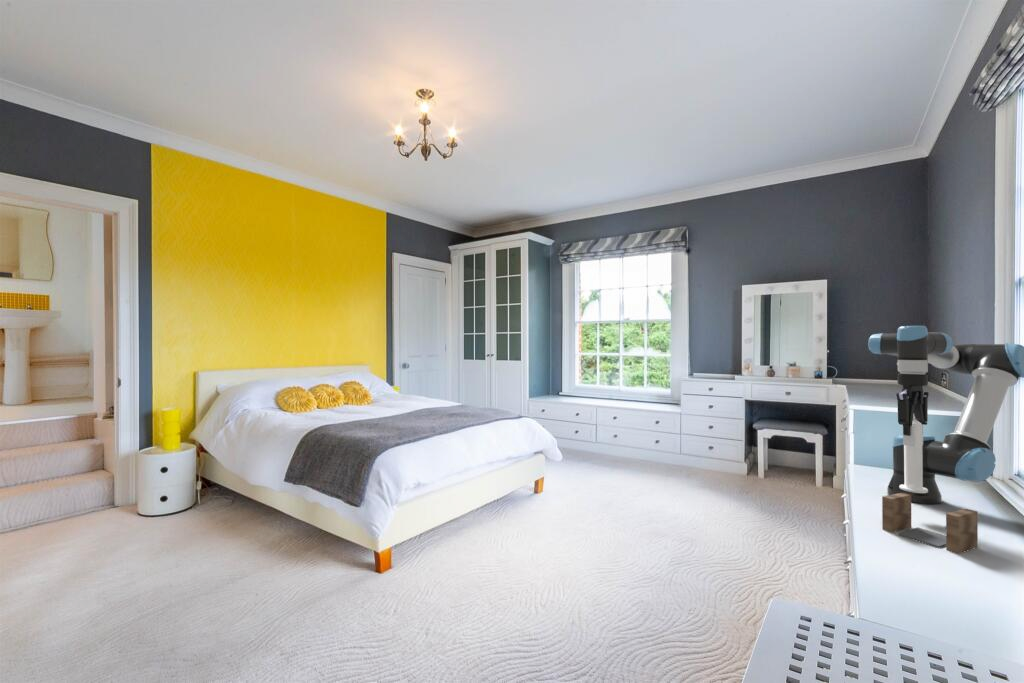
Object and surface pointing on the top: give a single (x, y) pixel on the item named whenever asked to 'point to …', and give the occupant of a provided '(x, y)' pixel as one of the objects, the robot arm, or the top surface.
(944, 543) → the felt pad
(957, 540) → the bookend
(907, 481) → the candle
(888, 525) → the bookend
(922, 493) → the robot arm
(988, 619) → the top surface
